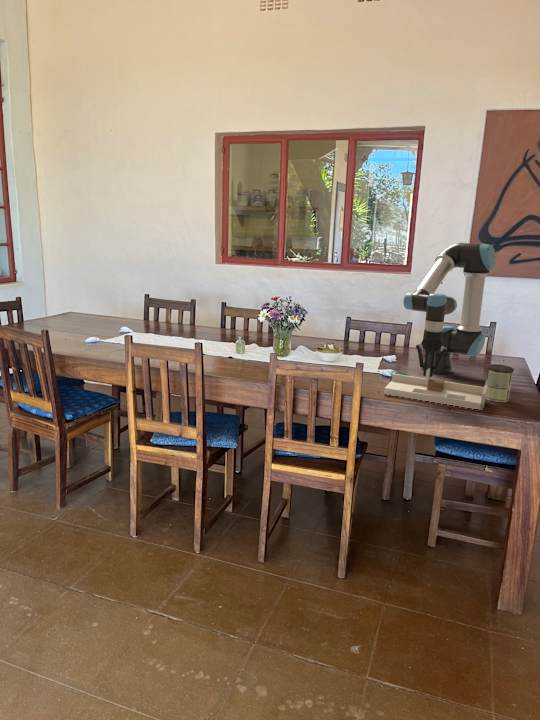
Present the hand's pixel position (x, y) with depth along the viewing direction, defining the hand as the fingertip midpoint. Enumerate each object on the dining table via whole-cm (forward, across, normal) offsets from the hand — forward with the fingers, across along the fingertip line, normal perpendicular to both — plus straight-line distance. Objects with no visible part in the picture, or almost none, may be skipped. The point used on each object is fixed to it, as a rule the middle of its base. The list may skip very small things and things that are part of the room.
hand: (426, 383), depth 227 cm
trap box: (+5, +4, -3) cm, 7 cm away
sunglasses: (+6, -11, +13) cm, 18 cm away
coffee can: (+5, +28, +11) cm, 31 cm away
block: (+2, +4, 0) cm, 4 cm away
